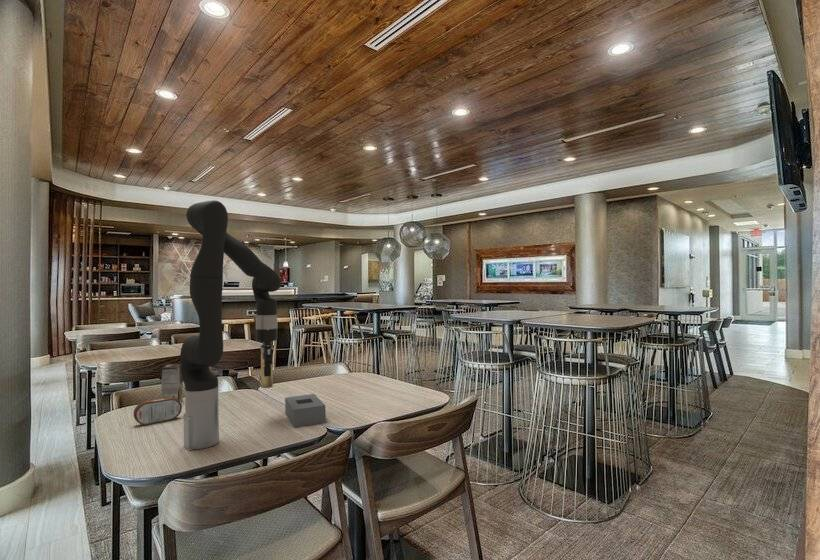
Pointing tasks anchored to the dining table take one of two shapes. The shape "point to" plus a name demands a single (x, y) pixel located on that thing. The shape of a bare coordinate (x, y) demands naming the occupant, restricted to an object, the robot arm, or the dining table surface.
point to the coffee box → (172, 381)
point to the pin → (267, 381)
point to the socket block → (305, 410)
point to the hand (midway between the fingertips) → (266, 374)
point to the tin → (157, 410)
